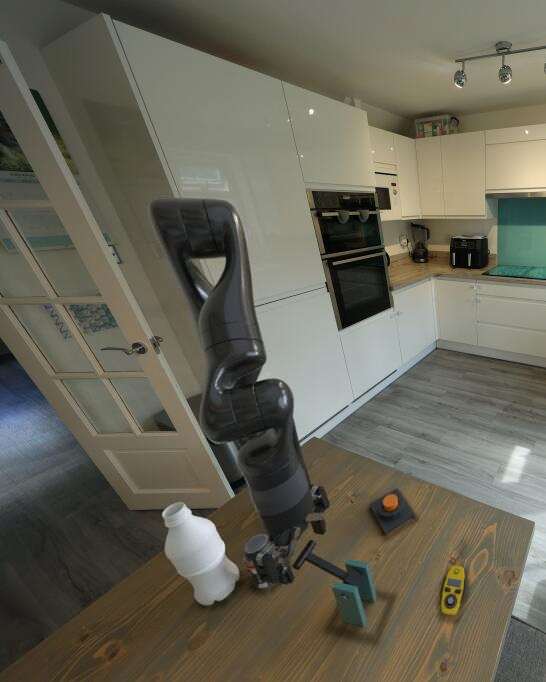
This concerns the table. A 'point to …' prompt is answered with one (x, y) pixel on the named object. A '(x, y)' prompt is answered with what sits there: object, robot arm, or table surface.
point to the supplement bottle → (252, 546)
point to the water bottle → (199, 554)
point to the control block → (392, 512)
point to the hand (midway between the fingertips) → (305, 555)
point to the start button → (390, 502)
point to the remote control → (453, 590)
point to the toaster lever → (327, 566)
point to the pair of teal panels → (355, 594)
